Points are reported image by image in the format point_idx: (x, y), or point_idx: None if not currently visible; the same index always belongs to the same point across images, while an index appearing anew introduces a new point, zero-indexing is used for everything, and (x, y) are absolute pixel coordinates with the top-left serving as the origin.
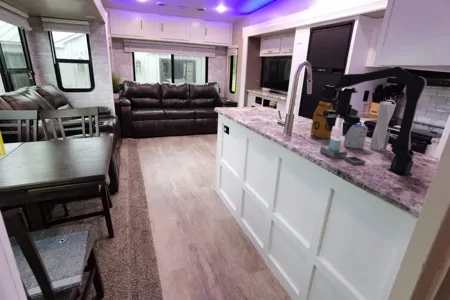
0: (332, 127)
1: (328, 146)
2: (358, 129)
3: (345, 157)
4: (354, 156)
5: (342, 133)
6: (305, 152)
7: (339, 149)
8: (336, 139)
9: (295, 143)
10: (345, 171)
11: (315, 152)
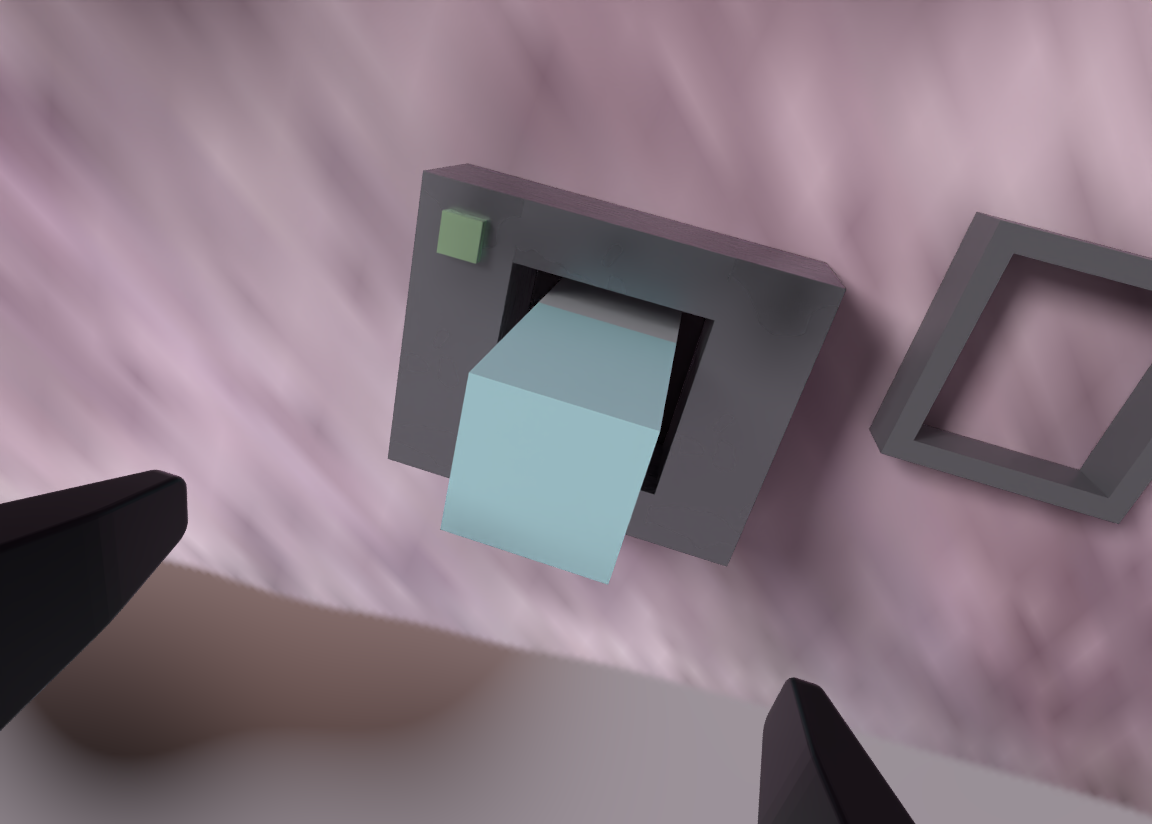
0: (72, 533)
1: (443, 345)
2: None
3: (896, 457)
4: (997, 242)
5: (759, 820)
6: (391, 607)
7: (659, 304)
8: (537, 455)
9: (41, 415)
10: (1073, 775)
11: (435, 502)
